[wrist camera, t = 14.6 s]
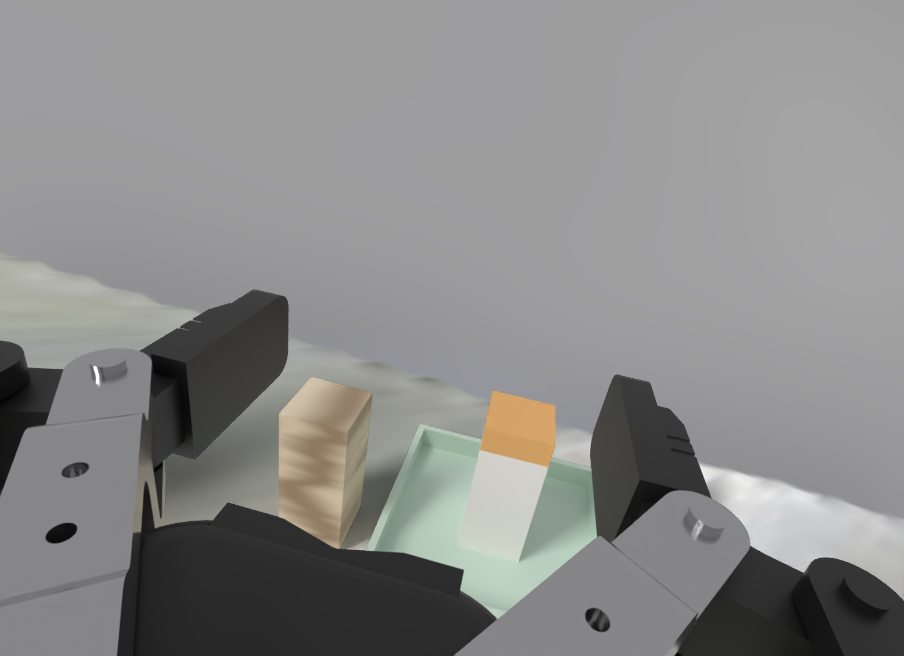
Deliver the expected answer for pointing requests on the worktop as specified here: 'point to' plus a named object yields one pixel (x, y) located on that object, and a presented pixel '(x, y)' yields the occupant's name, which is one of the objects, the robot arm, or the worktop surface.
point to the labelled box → (508, 475)
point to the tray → (443, 507)
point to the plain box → (323, 458)
